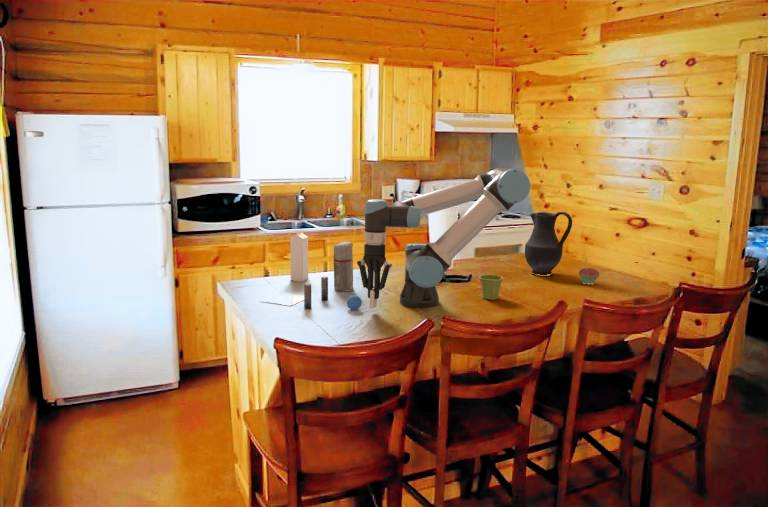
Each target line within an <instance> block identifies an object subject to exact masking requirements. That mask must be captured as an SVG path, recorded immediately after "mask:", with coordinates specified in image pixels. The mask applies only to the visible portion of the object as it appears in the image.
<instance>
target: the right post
mask: <svg viewBox="0 0 768 507" xmlns="http://www.w3.org/2000/svg"><path fill="white" fill-rule="evenodd" d="M320 279H321V280H320V281H321V282H320V283H321V284H320V287H321V288H320V290H321V292H320V293H321V296H320V298H321V299H320V300H321V301H322V302H328V301H329V277H328V276H321V278H320Z"/></svg>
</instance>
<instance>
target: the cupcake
mask: <svg viewBox="0 0 768 507" xmlns="http://www.w3.org/2000/svg"><path fill="white" fill-rule="evenodd" d="M584 260H585V268H581V270H579V271H578V275H579V276H580V279H581V282H584V283H594V284H595V283H596V280H597V279H598V278H599V277H600V272H599V271H598V270H597V269H594V268H592V267H591V268H589V266H588V259H587V258H584Z"/></svg>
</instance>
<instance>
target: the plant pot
mask: <svg viewBox="0 0 768 507" xmlns="http://www.w3.org/2000/svg"><path fill="white" fill-rule="evenodd" d="M478 278H479V280H480V286H481V296H482V298H483V299H484V300H490V301H493V300H495V301H496V300H497V299H499V295H500V290H501V285H502V282H503V280H504V277H503V276H501V275H497V274H481V275H479V277H478Z"/></svg>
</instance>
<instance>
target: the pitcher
mask: <svg viewBox="0 0 768 507" xmlns="http://www.w3.org/2000/svg"><path fill="white" fill-rule="evenodd" d="M561 215H562V216H564V217H566V218H567V222H568V223H567V226H566V229H565V231H564V233H563V235H562V236H561V238H560V240H559V239H558V237H557V233H556V230H555V225H556V222H557V218H558V217H559V216H561ZM529 216H530V218H531V221H532V223H533V229H532V232H531V234H530V237H529V239H528V240H527V242H526V243H525V245H524V258H525V261H526V263H527V265H529V267H530V268H531V269H532V270H531V272H532V273H534V274H540V275H547V274H551V273H552V271H553V270H554V269H555V268H557V266H558V265H559V263H560V262H561V259H562V257H563V248H564V244H565V242H566V240H567V238H568V236H569V235H570V232H571V230H572V226H573V218H572V217H571V215H570V214H569V213H568V212H566V211H558V212H556V213H553V212H547V211H538V212H534V213H530V214H529ZM552 274H553V273H552Z"/></svg>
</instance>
